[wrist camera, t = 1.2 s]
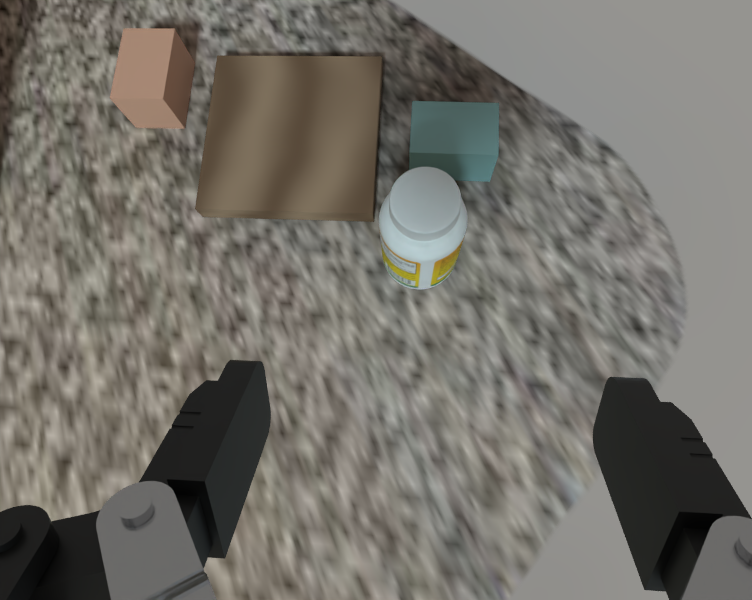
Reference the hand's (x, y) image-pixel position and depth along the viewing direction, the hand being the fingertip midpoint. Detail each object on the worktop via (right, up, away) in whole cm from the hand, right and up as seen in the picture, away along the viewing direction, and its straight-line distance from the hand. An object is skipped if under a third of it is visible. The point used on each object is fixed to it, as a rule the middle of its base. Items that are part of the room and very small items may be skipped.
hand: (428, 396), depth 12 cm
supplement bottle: (+2, +6, +26) cm, 26 cm away
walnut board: (-8, +15, +28) cm, 33 cm away
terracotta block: (-18, +19, +30) cm, 40 cm away
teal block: (+4, +13, +27) cm, 31 cm away
